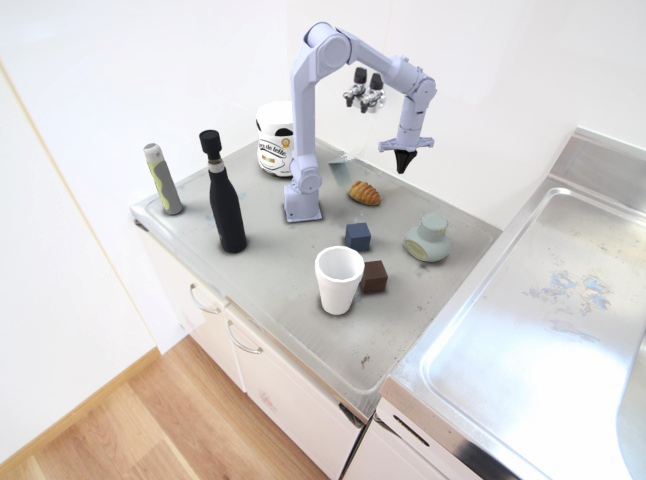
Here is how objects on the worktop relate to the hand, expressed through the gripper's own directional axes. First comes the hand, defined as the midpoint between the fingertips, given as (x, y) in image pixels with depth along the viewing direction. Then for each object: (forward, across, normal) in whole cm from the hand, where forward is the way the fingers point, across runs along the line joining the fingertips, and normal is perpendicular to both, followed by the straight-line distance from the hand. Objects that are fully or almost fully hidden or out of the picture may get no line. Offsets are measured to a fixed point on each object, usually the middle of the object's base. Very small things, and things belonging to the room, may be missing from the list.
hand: (400, 172), depth 96 cm
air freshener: (+8, -1, -24) cm, 25 cm away
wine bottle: (+8, -48, -14) cm, 50 cm away
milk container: (+8, -31, +20) cm, 37 cm away
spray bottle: (+7, -65, +3) cm, 65 cm away
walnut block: (+7, -17, -32) cm, 37 cm away
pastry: (+8, -10, 0) cm, 12 cm away
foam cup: (+8, -26, -36) cm, 45 cm away
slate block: (+7, -17, -19) cm, 26 cm away
